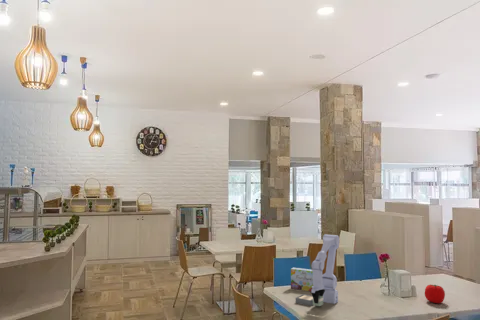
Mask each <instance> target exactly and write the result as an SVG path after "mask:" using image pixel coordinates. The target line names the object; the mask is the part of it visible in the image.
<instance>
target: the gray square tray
mask: <svg viewBox="0 0 480 320" xmlns="http://www.w3.org/2000/svg"><path fill="white" fill-rule="evenodd" d="M304 295H306V296H311V297H313V296H312V294H311V295H309V294H305V293H303V294H300V295H298V296H297V297H295V304H300V305H305V306H309V307H310V306H311V307H312V306H314V305H313V299H312V300H306V299H301V298H299V297H301V296H304Z"/></svg>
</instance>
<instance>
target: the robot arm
mask: <svg viewBox="0 0 480 320" xmlns="http://www.w3.org/2000/svg"><path fill="white" fill-rule="evenodd" d="M340 240H341V239H340V236H339V235H338V234H337V235H335V234H327V233H324V235H322V242H323V243H322V246H321V249H320V251H318V252H317V255H316V257H315V259H314V260H313V261H312V262H311V264H310V265H311V270H312V272H313V286H312V289H311V291H310V294H311V296H313V299H314V303H316V304H318V299H319V296H323V303H327V304H333V305H335V304H337V303H339V290H337V286H338V282H337V281H338V279H337V277H336V275H335V274H334V270H335V261H336V256H337V249H339V246H340ZM327 252H328V253H327ZM326 259H327V260H326ZM325 262H326V263H325ZM325 265H326V267H325ZM324 269H325V272H324V273H323V270H324Z"/></svg>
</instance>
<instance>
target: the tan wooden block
mask: <svg viewBox="0 0 480 320" xmlns="http://www.w3.org/2000/svg"><path fill="white" fill-rule="evenodd" d="M306 295H307V294H305V295H304V296H301V295H300V296H301V297H299V298H301V299H306V300H312V299H313V297H311V296H312V295H311V296H306Z"/></svg>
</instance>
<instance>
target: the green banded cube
mask: <svg viewBox="0 0 480 320" xmlns="http://www.w3.org/2000/svg"><path fill="white" fill-rule="evenodd" d="M323 305H324V302H323V296H319V299H318V304H316V303H314V299H313V305H312V306H316V307H321V306H323Z"/></svg>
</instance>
